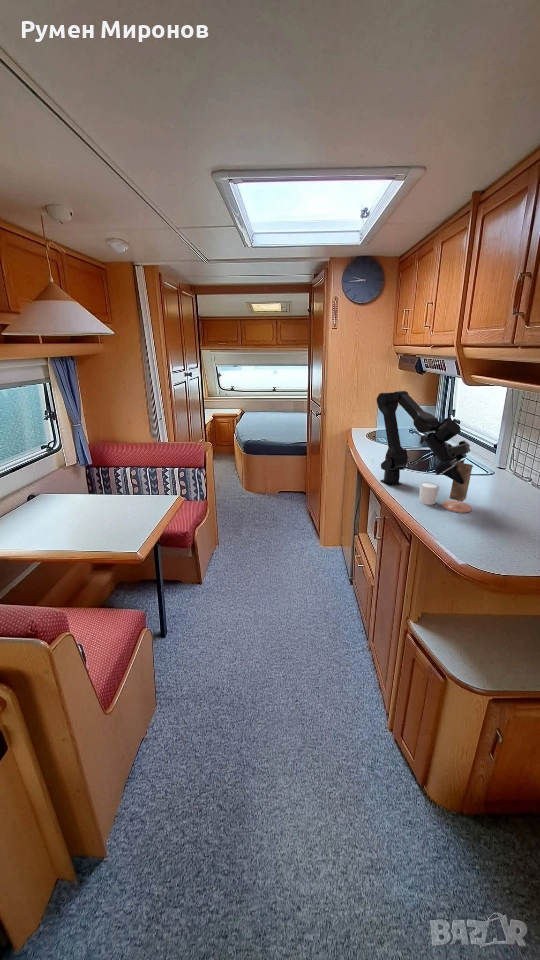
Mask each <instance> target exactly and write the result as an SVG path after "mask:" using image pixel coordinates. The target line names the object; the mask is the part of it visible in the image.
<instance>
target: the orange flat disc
mask: <svg viewBox="0 0 540 960" xmlns="http://www.w3.org/2000/svg"><path fill="white" fill-rule="evenodd" d="M441 507H442V508H443V507H444V508H443V509H445V510H446V509H447V511H449V510H450V511H449V512H452V511H454V512H453V513H457V512H460V513H459V514H467V513H466V512H468V513H470V512H471V511H472V506H471V505H470V504H468V503H465V502H464V501H463V502H461V501H457V500H453V499H450V500H444V501H442V503H441Z"/></svg>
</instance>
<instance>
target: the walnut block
mask: <svg viewBox="0 0 540 960" xmlns="http://www.w3.org/2000/svg"><path fill="white" fill-rule="evenodd" d="M456 465H457V464H456ZM457 470H458V472H459V474H460V475H461V477H462V479H463V481H464V484H460V483H458V482H456V481H455V480H453V479H452V483H451V487H450V488H451V489H450V495H449V499H450V500H452V501H459V502H463V503H464V501H465V500H466V499H467V494H468V491H469V485H470V480H471V475H472V470H473V464H470V463H465V462H464V463H460V462H459V463H458V468H457Z"/></svg>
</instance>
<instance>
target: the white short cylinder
mask: <svg viewBox="0 0 540 960" xmlns="http://www.w3.org/2000/svg"><path fill="white" fill-rule="evenodd" d="M439 491H440V485H438V484H436V483H434V482H428V481H427V482H425V481H424V482H421V483H419V496H418V497H419V499H418V502H419V503H420V504H422V505H425V504H426V506H433V504H434V505H435V504H436V500H437V497H438V495H439V494H438V493H439Z"/></svg>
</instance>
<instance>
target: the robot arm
mask: <svg viewBox="0 0 540 960" xmlns="http://www.w3.org/2000/svg"><path fill="white" fill-rule="evenodd" d="M376 403H377V407H378V410H379V411H380V413H382V415H383V421H384V427H385V434H386V440H387V445H388V446H387V451H386V453H385V459H384V461H383V462H381V463H380V467H381V470H384V475H383V479H380V482H382V483H383V484H385V485H387V486H399V485H402V482H401V481H400V476H401V475H400V472H401V470H402V471H404V470H405V468H406V466H407V464H408V462H409V461H408V459H409V456H408V450H407V448H403V447H402V444H401V439H400V434H399V427H398V419H397V413H396V412H397V410H398V407H399V405H400V406H401V407H402V409H403V410H404V411H405V412H406V413H407V414H408V415H409V417H410V418H412V420H413V423H412V424H413V426H414V427H415V429H416V430H417V432H418V433H419V434H420V433H421V434H423V433H424V434H423V435H422V436H420V441H419V444H420V445H421V444H424V443H425V444H426V445H427V446H428V448H429V450H430V451H431V452H432V454H431V455H432V457H436V459H437V460H438V462H439V463H438V465H437V466H435V467H434V473H435V474H436V475H437V476H439V475H440V474H441V475H444V476H446V477H447V478H449V479H451V480H452V481H453V480H455V481H456V482H458V483H460V484H464V481H463V479H462V477H461V475H460V474H459V472H458V470H457V468H458V463H459V462H460V463H465V461H466V459H465V458H466V457H467V455H466V454H469V452H471V449H470V447H471V445H470V444H469V442H466V441H465V440H461V441H459V442H458V444H456V445H452V444H451V443H447V442H448V441H450V440H451V439H452V438H455V436H457V435H458V434H460V432H461V426H460V424H458V423H457V422H456V421H454V420H453V419H452V417H446V418H444V419H443V421H439V419H438V418H437V417H436V416H434V415H433V414H431V413H429V412H428V411H425V410H424V409H423V408H421V406H420V405H419V404H418V403H417V402H416V401H415V400H414V399H413V398H412V397H411V395H410V394H409V392H408V391H406V390H397V391H394V392H392V391H391V392H381V393H379V394H378V395H377V397H376ZM425 433H426V435H425ZM456 464H457V465H456Z"/></svg>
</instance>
